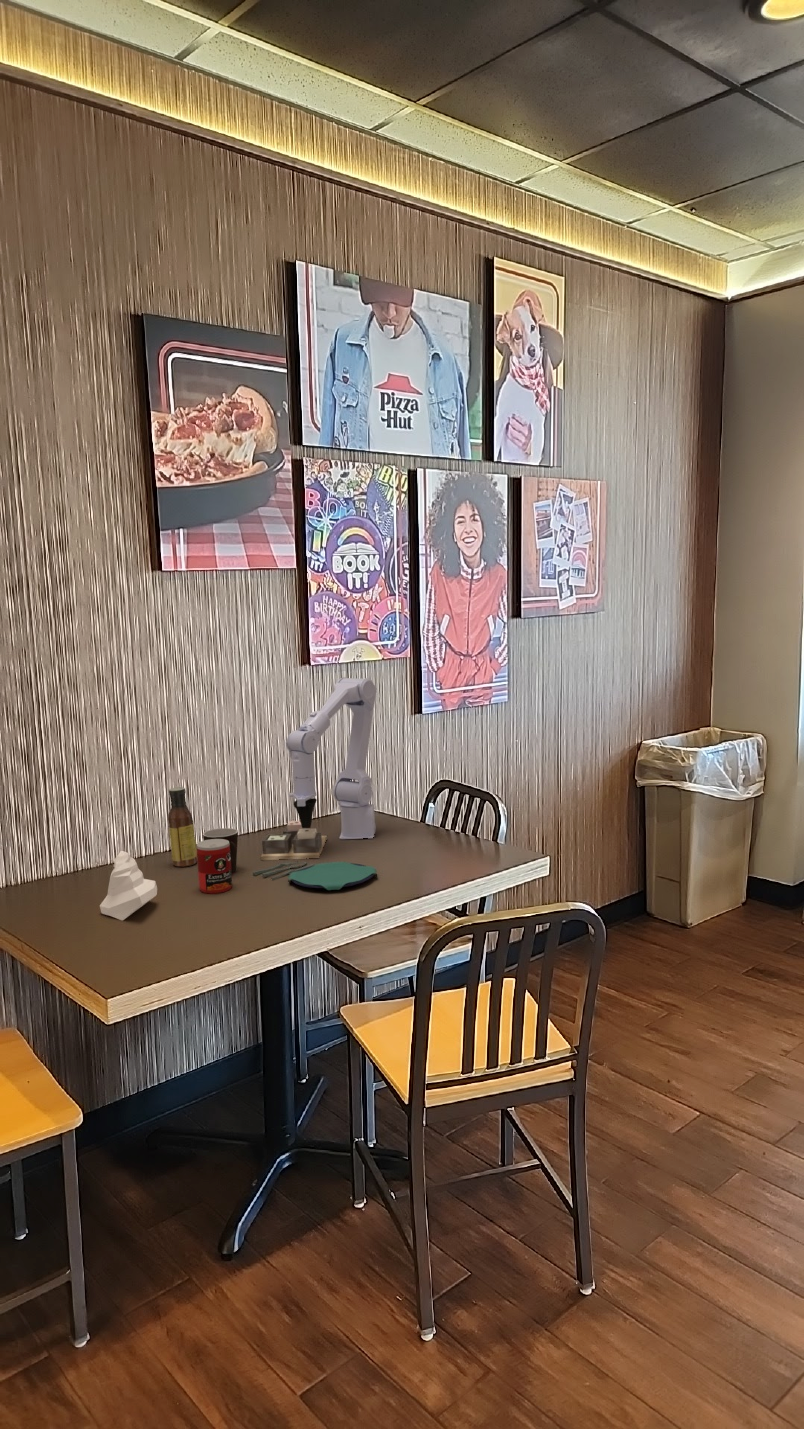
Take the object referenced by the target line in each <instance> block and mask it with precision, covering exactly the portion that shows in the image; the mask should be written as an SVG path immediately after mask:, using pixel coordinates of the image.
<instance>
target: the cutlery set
mask: <svg viewBox="0 0 804 1429" xmlns="http://www.w3.org/2000/svg"><path fill="white" fill-rule="evenodd" d="M294 861H295V862H297V863H303V862H304V863H305V864H300V865H298V864H297V863H293V864H292V863H290V862H291V861H289V862H284V863H283V862H282V863H280V862H279V863H277V865H274V866H272V867H269V868H265V869H260V870H256V871H255V870H254V871H252V876H257V875H261V877H263V878H266V877H267V876H270V875H274V874H277V873H279V872H283V873H281V874H278V875H276V876H273V877H270V880H271V879H272V880H271V881H274V880H275V879H277V878H279V877H282V876H286V875H288V881H287V882H288V883H289V884H291V881H292V882H293V883H294V884H295V885H298V886H301V887H305V888H311V889H313V888H314V889H326V890H327V891H331V890H332V891H335V890H338V891H339V890H341V889H342V888H345V887H351V886H355V885H358V884H362V883H364V882H366V881H368V880H370V879H371V878H372V877H373V876H376V877H377V876H378V872H377V869H376V868H375V867H373V866H372V865H370V866H369V865H364V864H359V863H353V862H347V861H332V862H322V863H317V864H315V863H311V864H309V865H306V864H307V863H308V862H307V861H297V860H294ZM296 864H297V865H296ZM287 865H289V866H288V867H287ZM291 865H294V866H291ZM303 865H304V866H303ZM313 865H314V866H313ZM283 866H286V867H287V868H285V867H284V868H283ZM290 866H291V867H290ZM302 866H303V867H302ZM298 867H300V868H298ZM279 868H280V869H279ZM290 868H294V869H290ZM273 869H274V870H273ZM267 871H268V872H267ZM284 871H285V872H284ZM290 880H291V881H290Z"/></svg>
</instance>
